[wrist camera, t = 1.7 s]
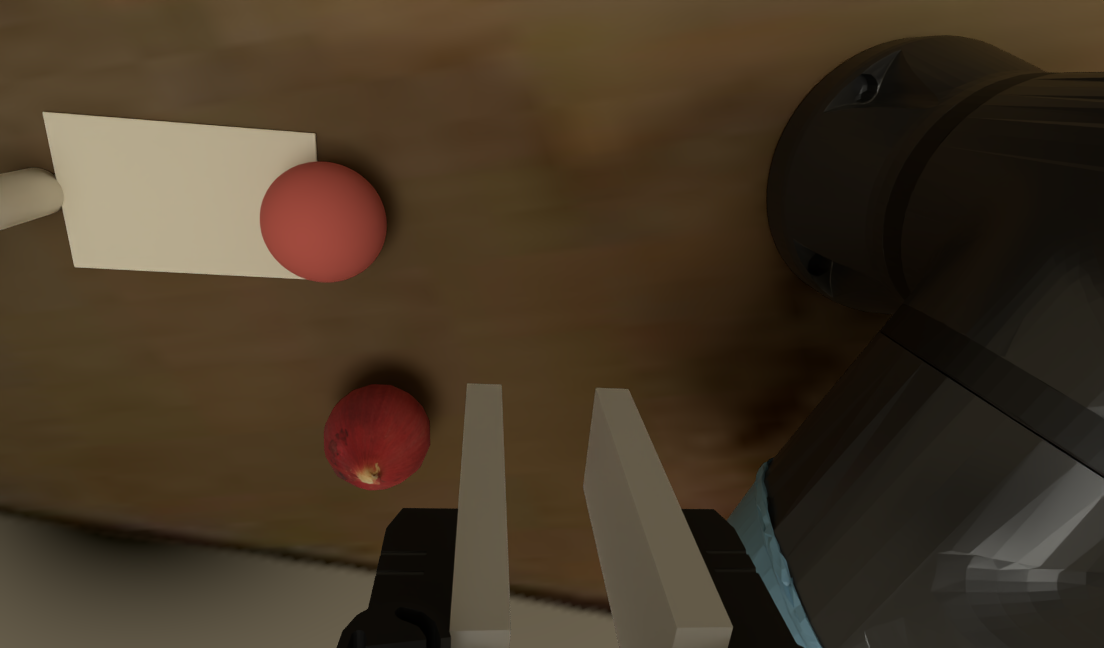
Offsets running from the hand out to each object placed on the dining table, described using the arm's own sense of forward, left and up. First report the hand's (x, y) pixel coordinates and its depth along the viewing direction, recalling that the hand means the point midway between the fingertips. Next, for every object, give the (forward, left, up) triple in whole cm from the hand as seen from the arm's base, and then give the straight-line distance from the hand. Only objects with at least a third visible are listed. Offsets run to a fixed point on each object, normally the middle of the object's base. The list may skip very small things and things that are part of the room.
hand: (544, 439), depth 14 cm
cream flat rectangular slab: (+17, 0, -22) cm, 28 cm away
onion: (+7, +12, -23) cm, 27 cm away
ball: (+9, 0, -19) cm, 22 cm away
